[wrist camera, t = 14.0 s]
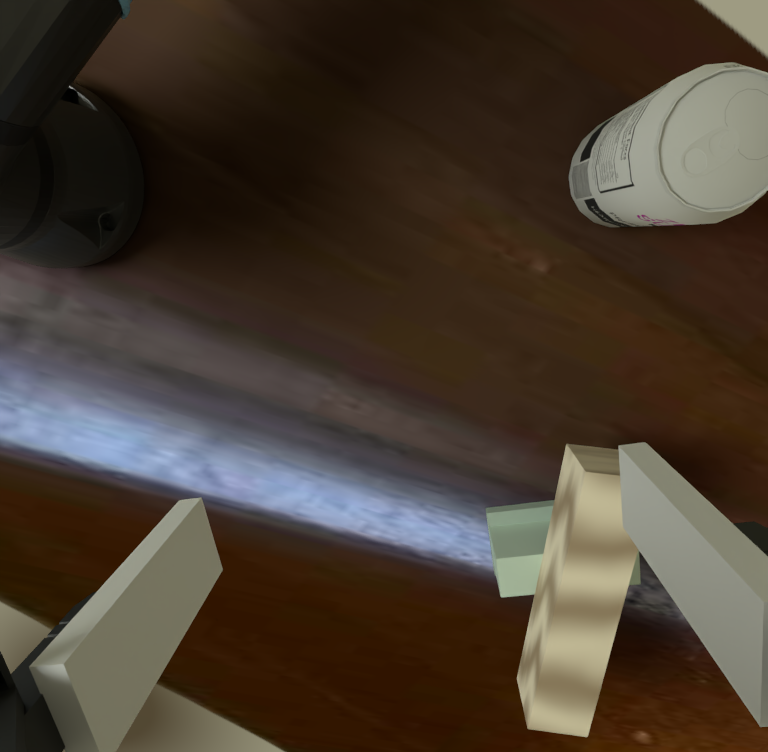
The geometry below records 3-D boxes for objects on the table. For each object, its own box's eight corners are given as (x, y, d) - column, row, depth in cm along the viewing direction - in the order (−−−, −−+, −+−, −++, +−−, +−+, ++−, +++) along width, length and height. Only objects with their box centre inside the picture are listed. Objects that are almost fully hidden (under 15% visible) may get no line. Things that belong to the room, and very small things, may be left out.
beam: (570, 685, 47) (587, 737, 43) (516, 678, 48) (527, 728, 43) (629, 450, 41) (656, 480, 36) (566, 443, 41) (585, 471, 36)
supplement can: (642, 95, 39) (771, 15, 25) (689, 189, 41) (836, 165, 26) (548, 159, 41) (617, 118, 26) (596, 247, 42) (687, 254, 28)
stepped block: (493, 569, 51) (502, 611, 46) (485, 507, 50) (493, 544, 44) (615, 556, 50) (641, 598, 44) (612, 493, 48) (638, 528, 42)
